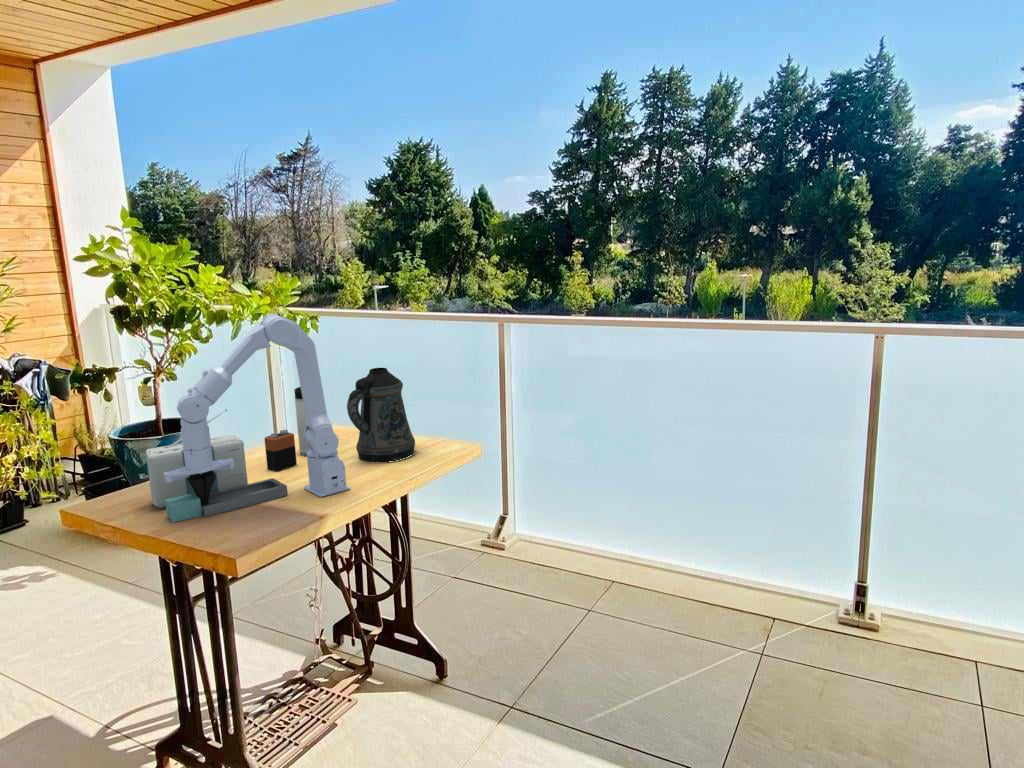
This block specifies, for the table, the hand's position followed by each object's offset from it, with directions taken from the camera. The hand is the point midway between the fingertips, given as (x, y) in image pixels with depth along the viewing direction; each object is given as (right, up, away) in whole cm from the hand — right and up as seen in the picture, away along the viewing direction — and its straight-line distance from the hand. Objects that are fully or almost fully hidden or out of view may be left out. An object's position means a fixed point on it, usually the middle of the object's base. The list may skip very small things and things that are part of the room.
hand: (204, 505), depth 158 cm
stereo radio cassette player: (-5, 0, +10) cm, 11 cm away
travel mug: (+12, +7, +45) cm, 47 cm away
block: (-3, -2, -2) cm, 5 cm away
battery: (+7, +5, +32) cm, 33 cm away
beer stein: (+34, +7, +39) cm, 52 cm away
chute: (+6, 0, +5) cm, 8 cm away
